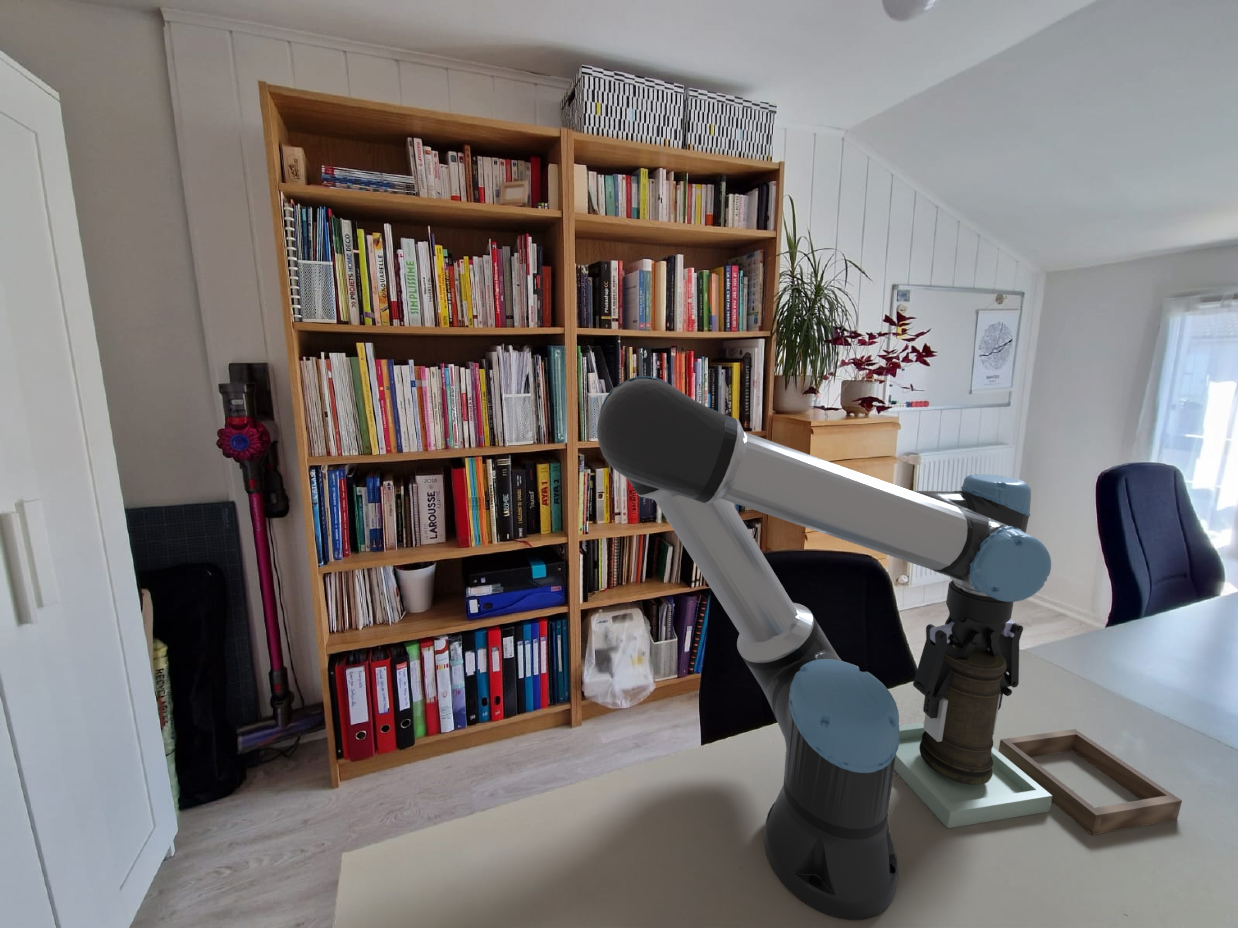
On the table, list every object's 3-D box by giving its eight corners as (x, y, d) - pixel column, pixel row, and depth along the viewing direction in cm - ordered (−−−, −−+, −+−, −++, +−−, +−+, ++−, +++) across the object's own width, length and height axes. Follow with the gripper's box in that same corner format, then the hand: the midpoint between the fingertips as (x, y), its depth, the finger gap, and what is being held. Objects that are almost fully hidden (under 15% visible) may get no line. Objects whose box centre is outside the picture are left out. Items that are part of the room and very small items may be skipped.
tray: (947, 828, 68) (950, 812, 68) (869, 742, 84) (871, 728, 83) (1049, 811, 71) (1052, 795, 71) (955, 731, 87) (957, 717, 86)
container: (1005, 787, 73) (1027, 671, 69) (941, 785, 73) (958, 669, 69) (965, 741, 82) (982, 636, 78) (907, 740, 82) (921, 635, 78)
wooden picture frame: (1091, 834, 68) (1096, 815, 67) (997, 756, 81) (1000, 739, 81) (1177, 819, 70) (1182, 800, 70) (1071, 745, 84) (1075, 729, 83)
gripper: (936, 604, 66) (914, 759, 71) (1071, 593, 70) (1042, 741, 74) (895, 580, 74) (878, 722, 78) (1019, 571, 77) (996, 707, 82)
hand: (958, 731), depth 76 cm, fingers closed on container, 8 cm apart
